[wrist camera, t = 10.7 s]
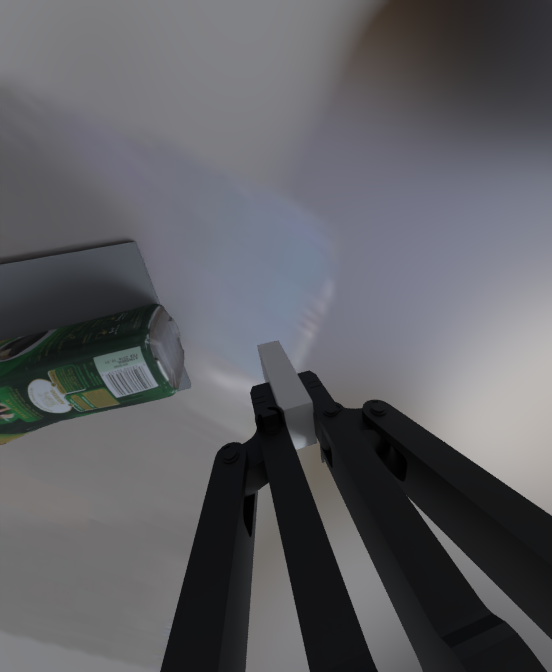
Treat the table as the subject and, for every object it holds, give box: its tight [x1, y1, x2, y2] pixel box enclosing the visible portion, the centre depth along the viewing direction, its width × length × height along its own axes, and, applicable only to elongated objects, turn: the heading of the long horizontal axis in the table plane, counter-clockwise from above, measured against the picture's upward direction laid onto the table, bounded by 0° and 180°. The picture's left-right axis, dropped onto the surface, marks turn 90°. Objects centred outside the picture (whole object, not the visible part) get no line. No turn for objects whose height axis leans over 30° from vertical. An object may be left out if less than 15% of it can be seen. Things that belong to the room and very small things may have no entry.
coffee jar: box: [0, 304, 184, 444], centre depth 22 cm, size 10×8×19 cm
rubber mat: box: [0, 242, 191, 391], centre depth 26 cm, size 18×20×1 cm
